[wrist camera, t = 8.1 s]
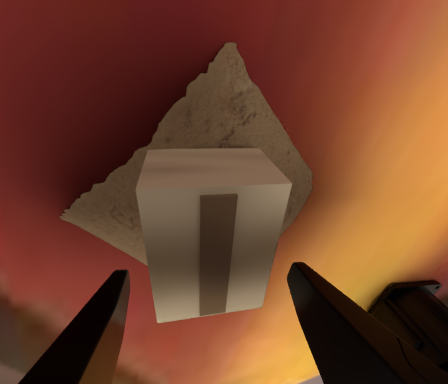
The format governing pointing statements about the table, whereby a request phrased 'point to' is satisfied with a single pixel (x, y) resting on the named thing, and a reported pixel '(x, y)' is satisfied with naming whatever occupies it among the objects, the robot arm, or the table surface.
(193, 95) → the clay tablet
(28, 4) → the table surface
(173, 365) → the table surface
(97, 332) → the robot arm
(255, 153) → the taped cardboard box
